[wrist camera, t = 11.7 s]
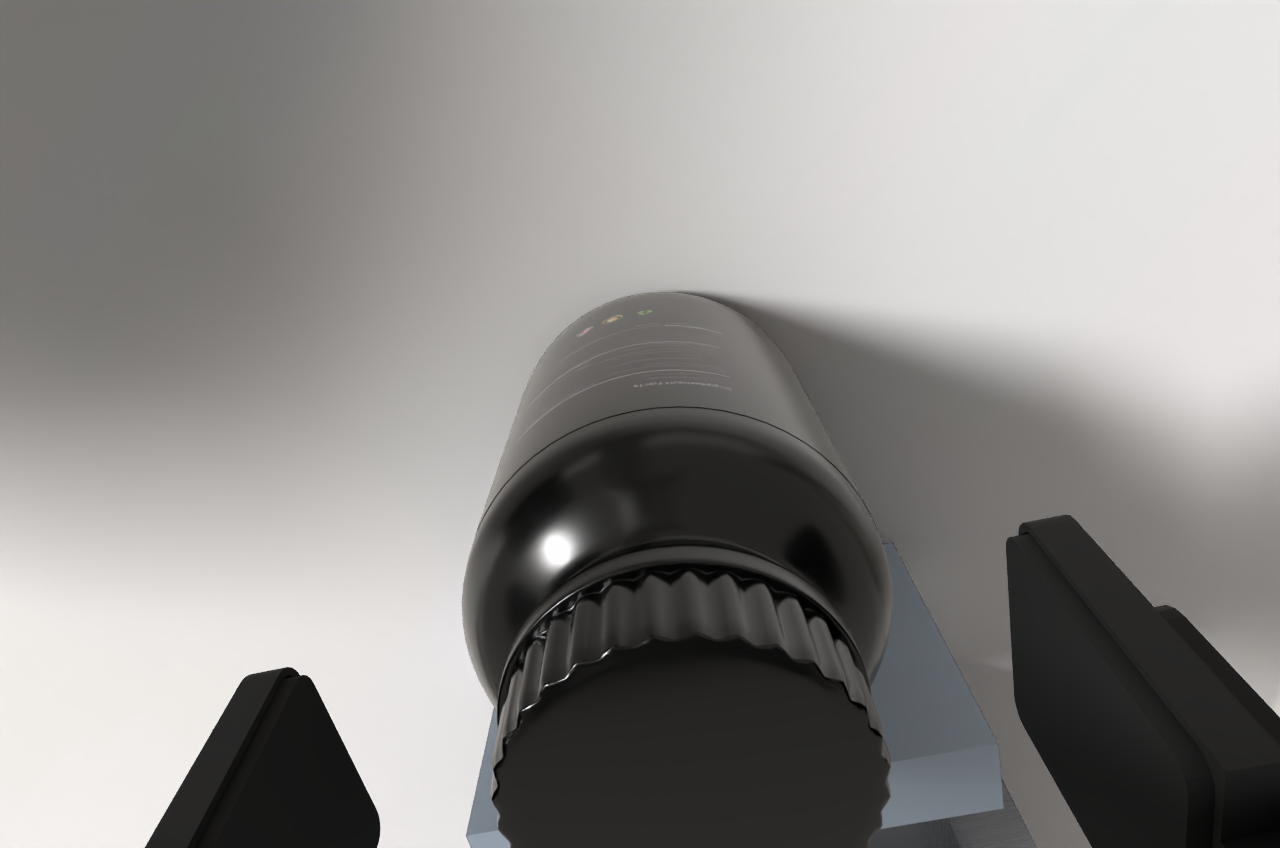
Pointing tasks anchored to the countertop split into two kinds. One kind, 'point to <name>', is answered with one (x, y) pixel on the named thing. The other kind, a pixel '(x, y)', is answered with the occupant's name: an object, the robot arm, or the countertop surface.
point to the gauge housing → (962, 831)
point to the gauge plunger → (884, 728)
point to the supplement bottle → (678, 597)
